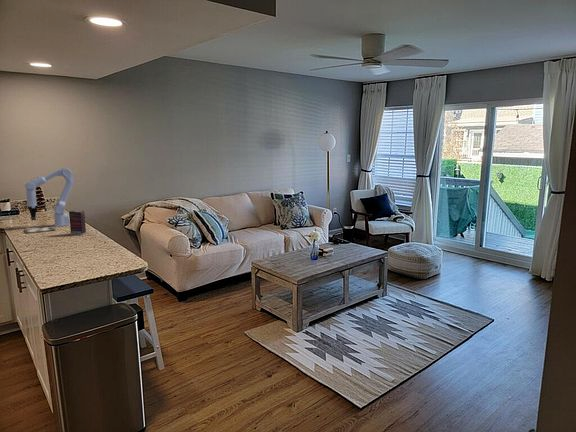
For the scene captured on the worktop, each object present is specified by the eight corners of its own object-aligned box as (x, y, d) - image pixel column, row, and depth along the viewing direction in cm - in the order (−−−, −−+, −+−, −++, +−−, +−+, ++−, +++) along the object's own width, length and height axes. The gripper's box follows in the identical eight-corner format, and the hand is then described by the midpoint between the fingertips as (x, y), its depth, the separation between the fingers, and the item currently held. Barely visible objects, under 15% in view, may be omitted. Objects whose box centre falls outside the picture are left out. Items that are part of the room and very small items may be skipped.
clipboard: (52, 227, 295) (52, 225, 294) (55, 230, 284) (55, 228, 284) (23, 230, 284) (23, 228, 283) (25, 233, 273) (25, 231, 273)
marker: (35, 219, 294) (34, 210, 293) (36, 220, 291) (35, 210, 290) (30, 219, 292) (29, 210, 291) (31, 220, 289) (30, 211, 288)
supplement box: (86, 233, 277) (84, 210, 274) (82, 234, 272) (80, 212, 270) (74, 232, 278) (73, 210, 275) (70, 234, 273) (68, 211, 270)
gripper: (23, 197, 292) (25, 215, 294) (26, 199, 281) (27, 218, 283) (35, 197, 296) (36, 214, 299) (37, 199, 285) (39, 217, 287)
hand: (33, 216), depth 291 cm, fingers closed on marker, 3 cm apart
